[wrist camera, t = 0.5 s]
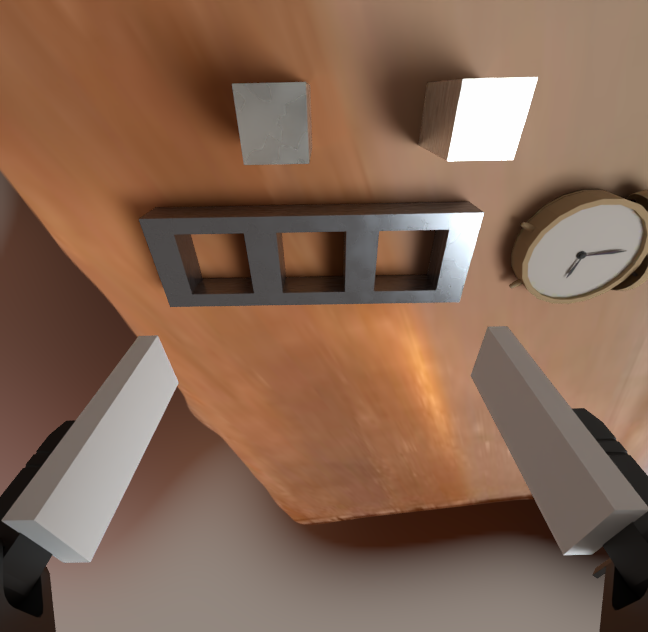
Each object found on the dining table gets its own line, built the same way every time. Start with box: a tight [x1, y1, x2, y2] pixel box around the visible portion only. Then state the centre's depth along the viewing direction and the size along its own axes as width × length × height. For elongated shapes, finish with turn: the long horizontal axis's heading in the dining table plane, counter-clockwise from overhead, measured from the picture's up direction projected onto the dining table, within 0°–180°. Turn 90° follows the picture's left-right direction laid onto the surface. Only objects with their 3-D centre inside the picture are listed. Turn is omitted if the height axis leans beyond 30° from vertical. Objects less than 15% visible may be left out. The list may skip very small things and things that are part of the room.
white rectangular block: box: [419, 77, 538, 161], centre depth 23 cm, size 4×4×8 cm
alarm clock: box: [509, 190, 648, 304], centre depth 32 cm, size 11×5×15 cm
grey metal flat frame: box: [139, 202, 484, 307], centre depth 32 cm, size 10×31×4 cm, turn 91°
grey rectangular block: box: [232, 82, 312, 165], centre depth 24 cm, size 4×4×8 cm
